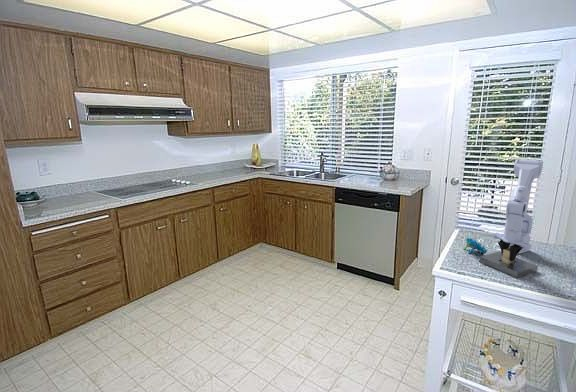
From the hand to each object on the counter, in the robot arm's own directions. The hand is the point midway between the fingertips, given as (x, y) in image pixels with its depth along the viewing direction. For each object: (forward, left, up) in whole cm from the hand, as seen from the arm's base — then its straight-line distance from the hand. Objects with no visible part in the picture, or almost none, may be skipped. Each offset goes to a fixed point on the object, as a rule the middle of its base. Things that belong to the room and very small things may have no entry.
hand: (508, 259), depth 133 cm
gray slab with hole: (0, 0, -3) cm, 3 cm away
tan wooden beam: (0, 0, -3) cm, 3 cm away
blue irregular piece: (-1, -16, -4) cm, 16 cm away
